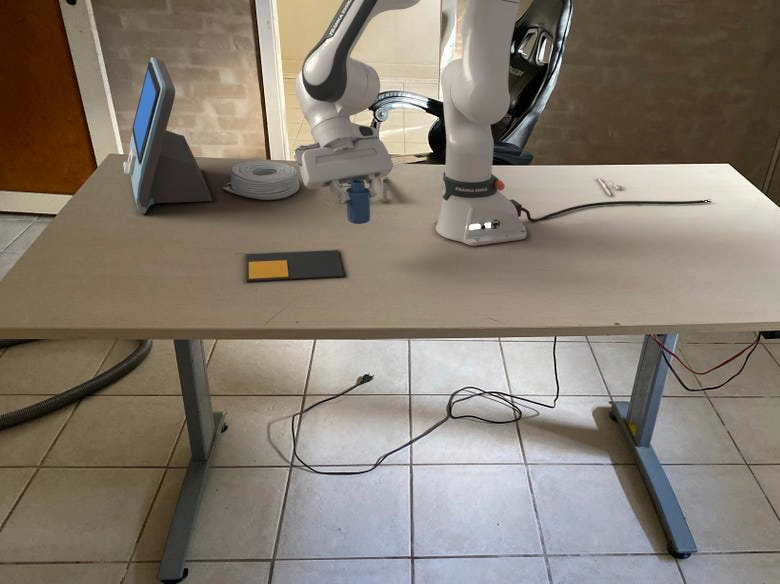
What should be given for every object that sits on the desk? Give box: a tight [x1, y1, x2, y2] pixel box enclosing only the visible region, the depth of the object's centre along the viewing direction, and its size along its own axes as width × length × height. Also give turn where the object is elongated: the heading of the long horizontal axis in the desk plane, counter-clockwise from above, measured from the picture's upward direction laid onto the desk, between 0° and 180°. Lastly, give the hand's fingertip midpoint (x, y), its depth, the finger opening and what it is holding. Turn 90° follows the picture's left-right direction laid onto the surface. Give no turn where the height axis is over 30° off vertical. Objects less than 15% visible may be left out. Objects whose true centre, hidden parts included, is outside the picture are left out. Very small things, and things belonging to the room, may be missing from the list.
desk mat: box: [246, 249, 345, 283], centre depth 160 cm, size 20×13×1 cm, turn 104°
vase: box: [345, 179, 371, 225], centre depth 156 cm, size 5×5×8 cm
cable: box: [222, 161, 300, 201], centre depth 195 cm, size 18×18×6 cm
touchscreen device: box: [122, 56, 213, 215], centre depth 186 cm, size 35×20×30 cm, turn 23°
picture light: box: [598, 178, 621, 196], centre depth 215 cm, size 14×4×2 cm, turn 5°
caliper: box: [379, 176, 388, 203], centre depth 201 cm, size 20×1×6 cm, turn 8°
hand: (359, 199), depth 155 cm, fingers closed on vase, 5 cm apart
